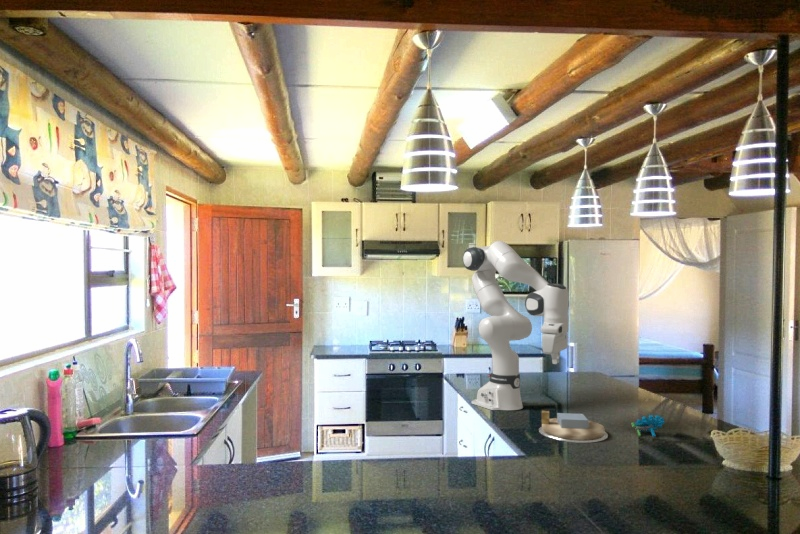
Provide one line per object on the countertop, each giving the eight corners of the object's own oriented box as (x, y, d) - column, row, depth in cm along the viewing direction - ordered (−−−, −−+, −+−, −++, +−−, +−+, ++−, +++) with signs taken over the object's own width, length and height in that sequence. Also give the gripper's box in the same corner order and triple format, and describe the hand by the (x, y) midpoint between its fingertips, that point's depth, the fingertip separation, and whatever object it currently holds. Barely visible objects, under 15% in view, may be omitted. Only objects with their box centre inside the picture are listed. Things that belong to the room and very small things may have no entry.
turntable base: (525, 432, 188) (525, 430, 188) (561, 421, 203) (561, 420, 203) (585, 447, 170) (585, 445, 171) (620, 434, 186) (620, 432, 186)
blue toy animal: (661, 426, 189) (665, 411, 182) (667, 442, 185) (671, 427, 178) (629, 429, 190) (631, 415, 184) (634, 445, 186) (637, 430, 179)
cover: (561, 428, 183) (561, 419, 183) (557, 421, 192) (557, 413, 192) (588, 429, 182) (588, 420, 182) (582, 422, 191) (582, 413, 191)
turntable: (603, 426, 193) (603, 409, 193) (605, 442, 173) (605, 423, 174) (543, 421, 200) (543, 405, 200) (539, 436, 180) (539, 418, 180)
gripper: (555, 324, 210) (555, 359, 210) (539, 328, 193) (538, 366, 193) (571, 325, 207) (571, 360, 206) (556, 329, 189) (556, 368, 189)
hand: (555, 363), depth 199 cm, fingers closed
